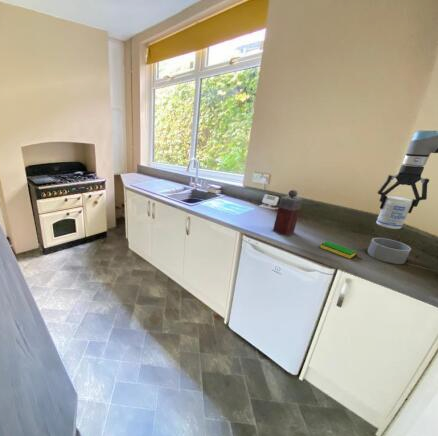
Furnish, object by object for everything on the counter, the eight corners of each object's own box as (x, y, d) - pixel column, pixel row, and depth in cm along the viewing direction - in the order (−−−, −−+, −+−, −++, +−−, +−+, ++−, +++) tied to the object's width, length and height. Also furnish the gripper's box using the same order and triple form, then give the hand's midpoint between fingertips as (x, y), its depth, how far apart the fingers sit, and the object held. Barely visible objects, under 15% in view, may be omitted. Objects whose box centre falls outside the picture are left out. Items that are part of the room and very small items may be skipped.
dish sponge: (325, 244, 135) (327, 240, 135) (355, 255, 125) (356, 251, 124) (319, 247, 132) (321, 243, 131) (349, 258, 121) (351, 254, 120)
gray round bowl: (402, 255, 125) (408, 243, 122) (407, 267, 114) (413, 253, 111) (366, 247, 133) (371, 235, 131) (367, 257, 123) (372, 244, 120)
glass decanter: (295, 232, 152) (307, 190, 141) (286, 236, 146) (297, 192, 135) (281, 227, 158) (291, 187, 148) (272, 231, 153) (282, 189, 142)
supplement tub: (388, 229, 117) (400, 201, 112) (370, 222, 126) (380, 196, 121) (406, 229, 118) (419, 201, 112) (387, 222, 126) (398, 196, 121)
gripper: (381, 163, 114) (366, 207, 122) (451, 168, 101) (428, 217, 109) (380, 162, 120) (365, 204, 128) (446, 167, 107) (425, 213, 115)
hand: (394, 210), depth 119 cm, fingers closed on supplement tub, 9 cm apart
